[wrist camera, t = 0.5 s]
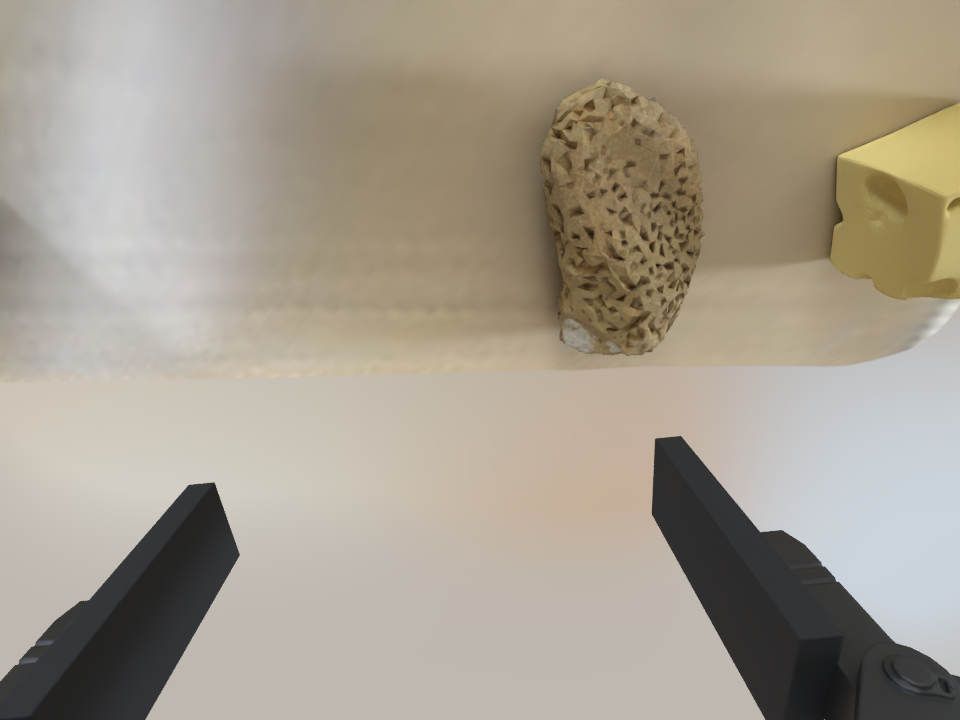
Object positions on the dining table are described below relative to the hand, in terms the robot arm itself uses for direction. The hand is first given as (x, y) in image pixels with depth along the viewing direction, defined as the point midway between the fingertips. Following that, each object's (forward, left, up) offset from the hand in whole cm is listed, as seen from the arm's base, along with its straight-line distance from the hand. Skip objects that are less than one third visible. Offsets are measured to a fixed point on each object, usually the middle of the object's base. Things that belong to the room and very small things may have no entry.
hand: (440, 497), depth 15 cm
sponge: (-4, +14, -27) cm, 31 cm away
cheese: (-16, +35, -27) cm, 47 cm away
